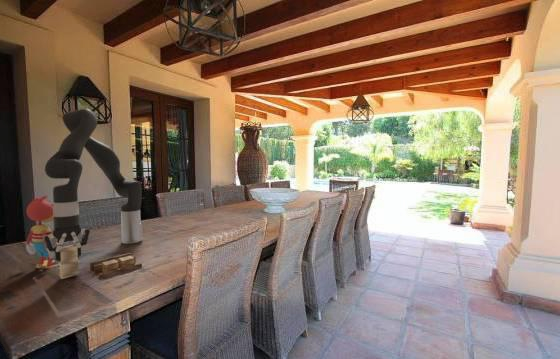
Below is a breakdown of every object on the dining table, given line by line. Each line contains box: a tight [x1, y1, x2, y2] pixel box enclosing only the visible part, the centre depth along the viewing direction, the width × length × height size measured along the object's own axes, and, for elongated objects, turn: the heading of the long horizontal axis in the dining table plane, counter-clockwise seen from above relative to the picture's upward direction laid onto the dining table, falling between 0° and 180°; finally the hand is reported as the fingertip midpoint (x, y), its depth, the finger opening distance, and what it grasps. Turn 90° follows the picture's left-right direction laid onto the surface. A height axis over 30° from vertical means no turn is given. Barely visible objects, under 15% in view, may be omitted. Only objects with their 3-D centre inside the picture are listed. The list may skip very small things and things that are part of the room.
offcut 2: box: [119, 255, 135, 268], centre depth 113 cm, size 4×4×4 cm
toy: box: [25, 195, 59, 269], centre depth 114 cm, size 15×10×30 cm
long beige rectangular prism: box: [58, 244, 79, 280], centre depth 103 cm, size 5×3×11 cm, turn 140°
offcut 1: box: [102, 259, 119, 273], centre depth 109 cm, size 4×4×4 cm
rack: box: [88, 252, 144, 280], centre depth 113 cm, size 16×13×4 cm
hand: (68, 258), depth 103 cm, fingers closed on long beige rectangular prism, 5 cm apart
